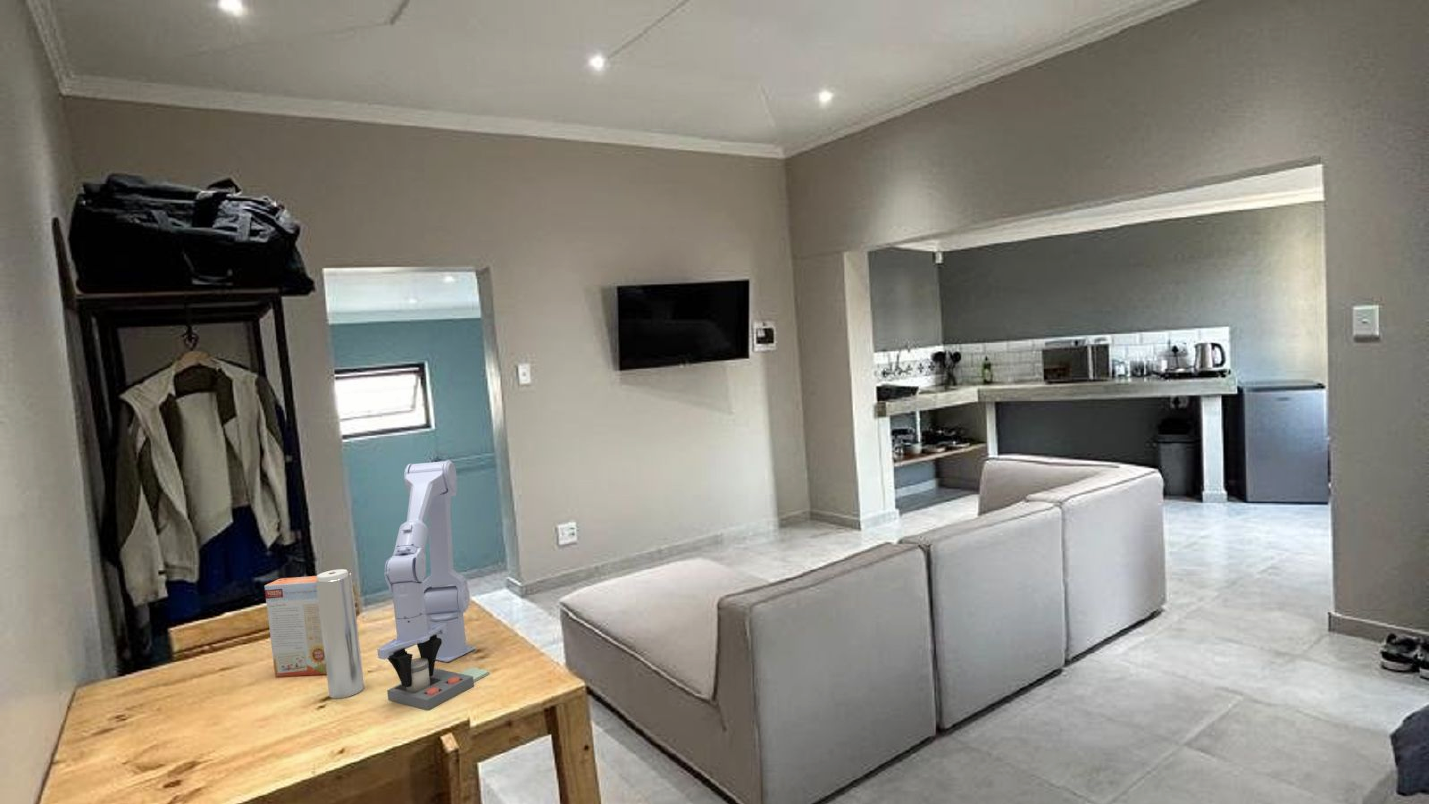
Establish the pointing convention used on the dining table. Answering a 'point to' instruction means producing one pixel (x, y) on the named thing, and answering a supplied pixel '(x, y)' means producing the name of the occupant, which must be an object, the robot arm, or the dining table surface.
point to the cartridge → (419, 675)
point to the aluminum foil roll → (339, 633)
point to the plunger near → (432, 690)
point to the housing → (436, 680)
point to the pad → (475, 673)
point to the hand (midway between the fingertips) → (417, 680)
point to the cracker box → (295, 627)
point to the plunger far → (453, 680)
